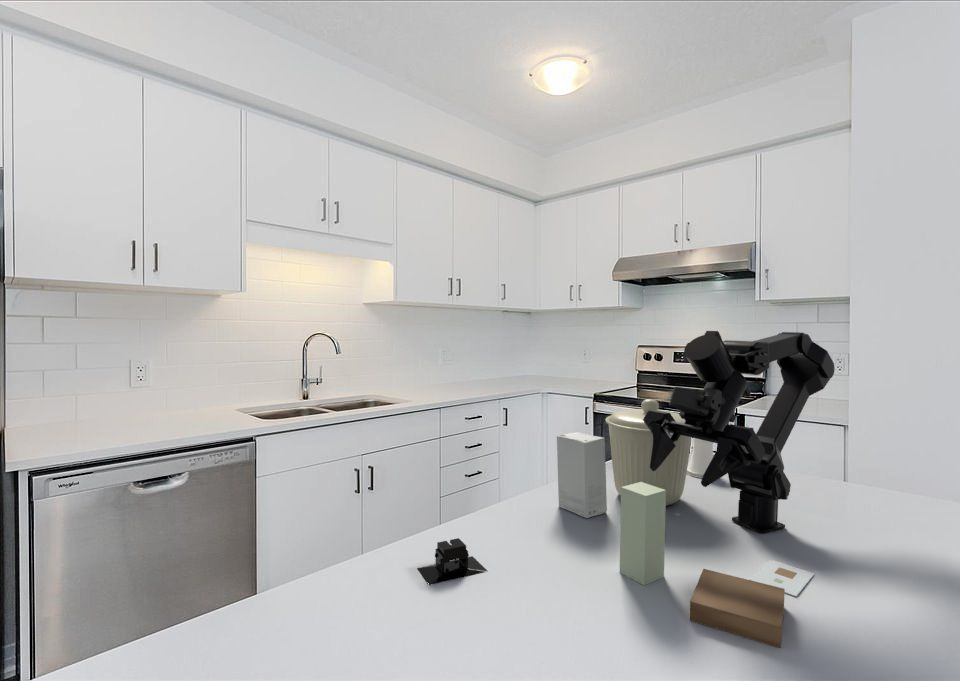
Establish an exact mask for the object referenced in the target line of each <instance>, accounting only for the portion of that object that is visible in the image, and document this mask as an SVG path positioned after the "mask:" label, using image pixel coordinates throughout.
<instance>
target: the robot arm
mask: <svg viewBox="0 0 960 681" xmlns="http://www.w3.org/2000/svg"><path fill="white" fill-rule="evenodd" d="M683 353H684V355H685V357H686V359H687V360H688V363H689V364H690V366H691V367H692V369H693V370H694V372H695V374H696V375H697V378H699V379H700V381H702V382H705V383H706V384H705V386H704V387H703V389H702V390H700V389H695V388H689V387H688V388H687V387H682V386H680V387H679V386H674V387H673V391H672V394H671V397H670V400H669V403H668V406H669V407H671V408H675V409H677V410H679V411H680V412H679V413H678V414H679V415H680V417H681V418H682V419H685V424H684V423H679V422H676V421H675V420H674V418H673V417H672V415H671V414H670V413H668V412H669V411H668V412H663V411H664V410H661V411H658V410H659V409H658V410H649V411H648V412H647V414H646V415H645V417H644V419H643V421H644V423H645V424H646V425H647V427H648V428H649V430H650V431H651V432H652V434H653V447H652V455H651V462H650V469H651V470H652V471H655V470H656V469H657V468H658V467H659V466H660V465H661V464H662V463H663V461H664V460H665V459H666V458H667V456H668V455H669V454H670V453H671V451H672V450H673V449H674V448H675V446H676V445H675V444H674V443H673V442H675V441H677V440H678V439H679V437H680V435H683V436H688V437H692V439H693V438H696V439H700V440H705V441H709V442H713V444H716V451H715V453H714V454H713V458H712V460H711V462H710V464H709V466H708V467H707V469H706V471H705V473H704V475H703V478H701V481H700V484H701V485H702V487H704V488H707V487H708V486H711V484H713V483H714V482H717V481H718V480H719V479H721V478H723V477H724V476H726V475H727V477H728V480H729V486H730V488H731V489H735V490H736V489H737V490H739V499H738V503H737V504H738V505H737V507H738V508H737V509H738V510H737V512H738V513H737V516H732V517H731V521H732V522H734V523H737V524H740V525H741V526H744V527H745V528H748V529H750V530H753V531H755V532H758V533H760V534H765V533H769V532H773V531H777V530H781V529H785V528H786V524H785V523H782V522H780V521H778V516H779V511H778V510H779V500H784V501H785V500H788V498H789V496H790V492H791V485H792V484H791V482H790V481H789V479H788V477H787V475H786V473H785V472H784V470H785V465H784V462H783V456H782V452H783V449H784V447H785V446H786V445H785V444H786V443H787V441H788V439H789V437H790V435H791V433H792V431H793V430H794V427H795V425H796V423H797V421H798V420H799V417H800V415H801V413H802V412H803V409H804V407H805V405H806V403H807V401H808V399H809V398H810V396H812V395H814V394H816V393H818V392H820V391H822V390H824V389H825V388H826V386H827V385H828V383H829V382H830V380H831V379H832V378H833V377H834V374H835V370H836V369H835V363H834V361H833V359H832V357H831V355H830V353H829V351H828V350H826V349H825V348H823V347H822V346H821V345H819V344H818V343H816V342H814V341H813V340H812V338H811V337H810V335H809V334H808V333H805V332H800V331H799V332H798V331H797V332H794V331H792V332H791V331H782V332H779V333H778V334H774V335H770V336H768V337H764V338H760V339H756V340H753V341H750V340H749V341H748V340H731V339H730V340H729V339H726V340H723V339H722V336H721V334H720V332H719V331H718V330H705V332H704V334H702V335H700V336H698V337H696V338H693V339H692V340H691V341H689V342H687V343H686V345H685V347H684V349H683ZM775 361H776V364H777V366H778V367H779V368H780V371H779V372H780V374H781V378H782V381H783V383H782V385H781V387H780V388H779V391H778V392H777V394H776V397H775V398H774V400H773V402H772V403H771V406H770V407H769V409H768V411H767V413H766V415H765V416H764V419H763V420H762V422H761V424H760V426H759V428H758V430H757V432H756V431H755V429H754V428H752V427H747V426H743V425H737V424H732V423H735V421H736V419H737V416H736V415H735V414H734V413H735V410H736V409H737V407H738V404H739V402H740V401H741V399H742V397H746V398H750V397H751V389H750V387H749V383H748V380H746V378H745V376H744V375H750V376H751V375H752V376H759V375H761V374H763V373H764V372H766V371H767V370H769V368H770V363H772V362H775ZM728 423H729V424H728Z"/></svg>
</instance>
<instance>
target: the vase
mask: <svg viewBox="0 0 960 681" xmlns="http://www.w3.org/2000/svg"><path fill="white" fill-rule="evenodd" d="M692 439H693V440H692V443H693V444H692V454H691V457H690V459H689V462H688V467H687V473H686V475H688V476H691V477H695V478H698V479H702V478H703V475H704V473H705V471H706V469H707V467H708V466H709V464H710V462H711V460H712V458H713V456H714V443H713V442H709V441H705V440H700V439H696V438H692Z"/></svg>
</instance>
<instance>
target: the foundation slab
mask: <svg viewBox="0 0 960 681" xmlns="http://www.w3.org/2000/svg"><path fill="white" fill-rule="evenodd" d="M785 594H786V593H785V589H784V588H779V587H775V586H771V585H767V584H763V583H759V582H755V581H751V580H750V579H746V578H742V577H740V576H735V575H730V574H727V573H722V572H718V571H714V570H711V569H706V568H702V571H701V574H700V576H699V579H698V580H697V583H696V586H695V588H694V590H693V594H692V595H691V598H690V601H689V621H690V622H692V623H696V624H699V625H700V624H701V625H703V626H707V627H710V628H714V629H717V630H720V631H723V632H726V633H730V634H734V635H737V636H740V637H743V638H747V639H750V640H753V641H756V642H759V643H763V644H767V645H768V646H769V645H770V646H773V647H776V648H780V649H781V648H782V637H783V626H784V625H783V624H784V613H785V612H784V610H785Z"/></svg>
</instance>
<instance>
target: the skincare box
mask: <svg viewBox="0 0 960 681" xmlns="http://www.w3.org/2000/svg"><path fill="white" fill-rule="evenodd" d="M605 439H606V438H605V437H602V436H596V435H592V434H587V433H583V432H578V431H574V432H568V433H564V434H558V435H556V451H557V452H556V454H557V486H558V488H557V489H558V491H557V492H558V493H557V494H558V507H559V508H561V509H563V510H566V511H569V512H571V513H574V514H575V515H578V516H580V517H583V518H585V519H589V518H591V517H594V516H595V517H596V516H600V515H603V514H604V515H605V514H607V511H608V503H607V499H608V498H607V475H606V472H607V470H606V469H607V467H606V465H607V464H606V443H605V441H606V440H605Z"/></svg>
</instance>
